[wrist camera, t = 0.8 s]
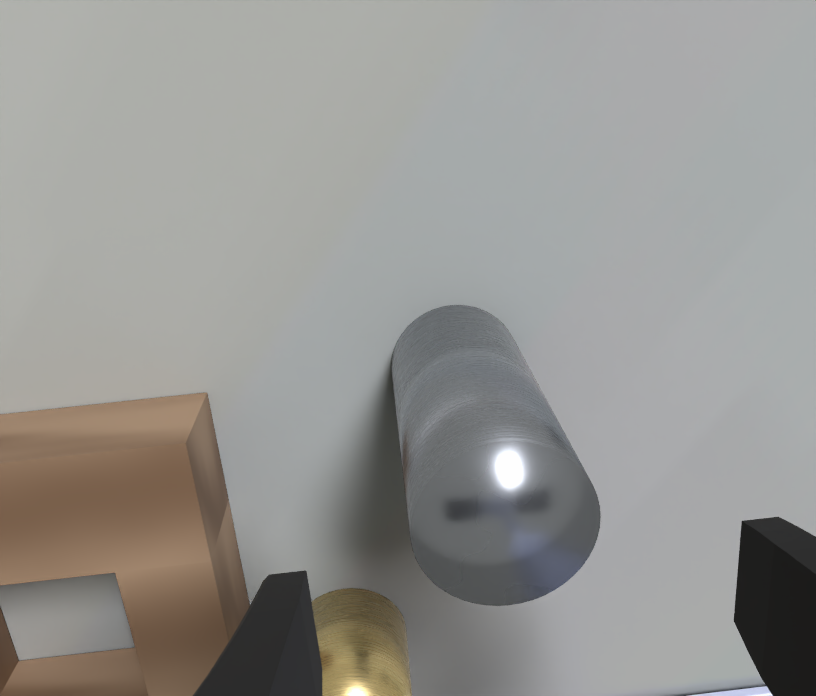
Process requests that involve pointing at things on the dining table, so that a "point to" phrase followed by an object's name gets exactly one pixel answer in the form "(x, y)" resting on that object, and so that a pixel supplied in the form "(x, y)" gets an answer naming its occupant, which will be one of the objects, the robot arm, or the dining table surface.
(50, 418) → the collar block
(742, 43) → the dining table surface
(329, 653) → the brass pin short
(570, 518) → the steel pin long
